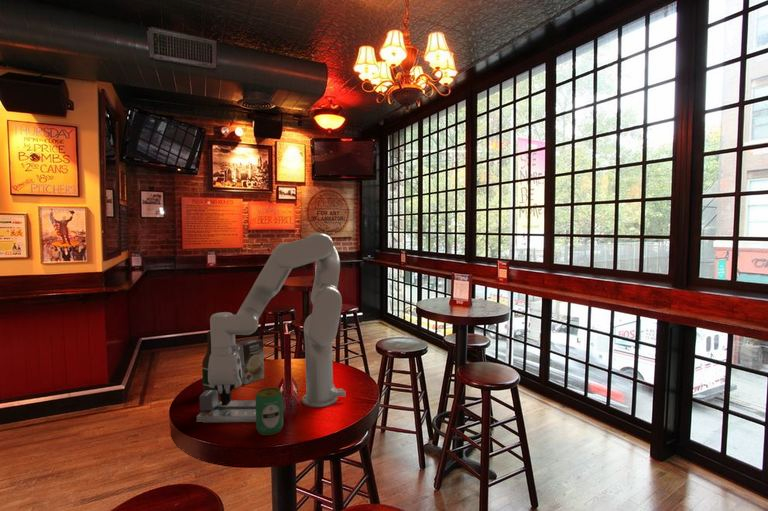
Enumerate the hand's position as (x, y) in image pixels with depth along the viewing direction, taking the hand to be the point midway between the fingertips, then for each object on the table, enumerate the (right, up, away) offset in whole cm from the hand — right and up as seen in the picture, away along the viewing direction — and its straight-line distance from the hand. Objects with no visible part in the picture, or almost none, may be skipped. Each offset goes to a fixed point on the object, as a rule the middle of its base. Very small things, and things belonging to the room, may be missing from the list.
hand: (226, 403), depth 137 cm
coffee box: (-2, -2, +31) cm, 31 cm away
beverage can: (+18, -4, -11) cm, 21 cm away
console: (+5, -3, 0) cm, 6 cm away
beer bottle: (-11, -3, +17) cm, 21 cm away
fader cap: (-6, -1, 0) cm, 6 cm away
